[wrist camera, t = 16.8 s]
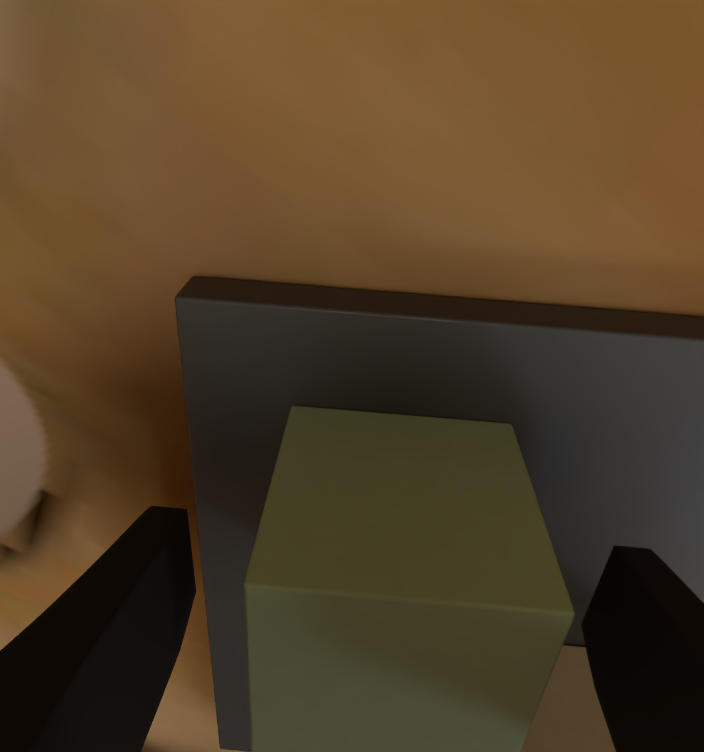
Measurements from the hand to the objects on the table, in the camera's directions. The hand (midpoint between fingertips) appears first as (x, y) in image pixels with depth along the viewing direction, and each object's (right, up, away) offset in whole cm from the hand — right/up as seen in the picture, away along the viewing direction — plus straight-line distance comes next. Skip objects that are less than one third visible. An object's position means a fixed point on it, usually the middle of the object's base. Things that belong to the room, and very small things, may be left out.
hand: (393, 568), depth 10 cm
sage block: (0, +1, +1) cm, 2 cm away
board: (+2, -1, +4) cm, 5 cm away
